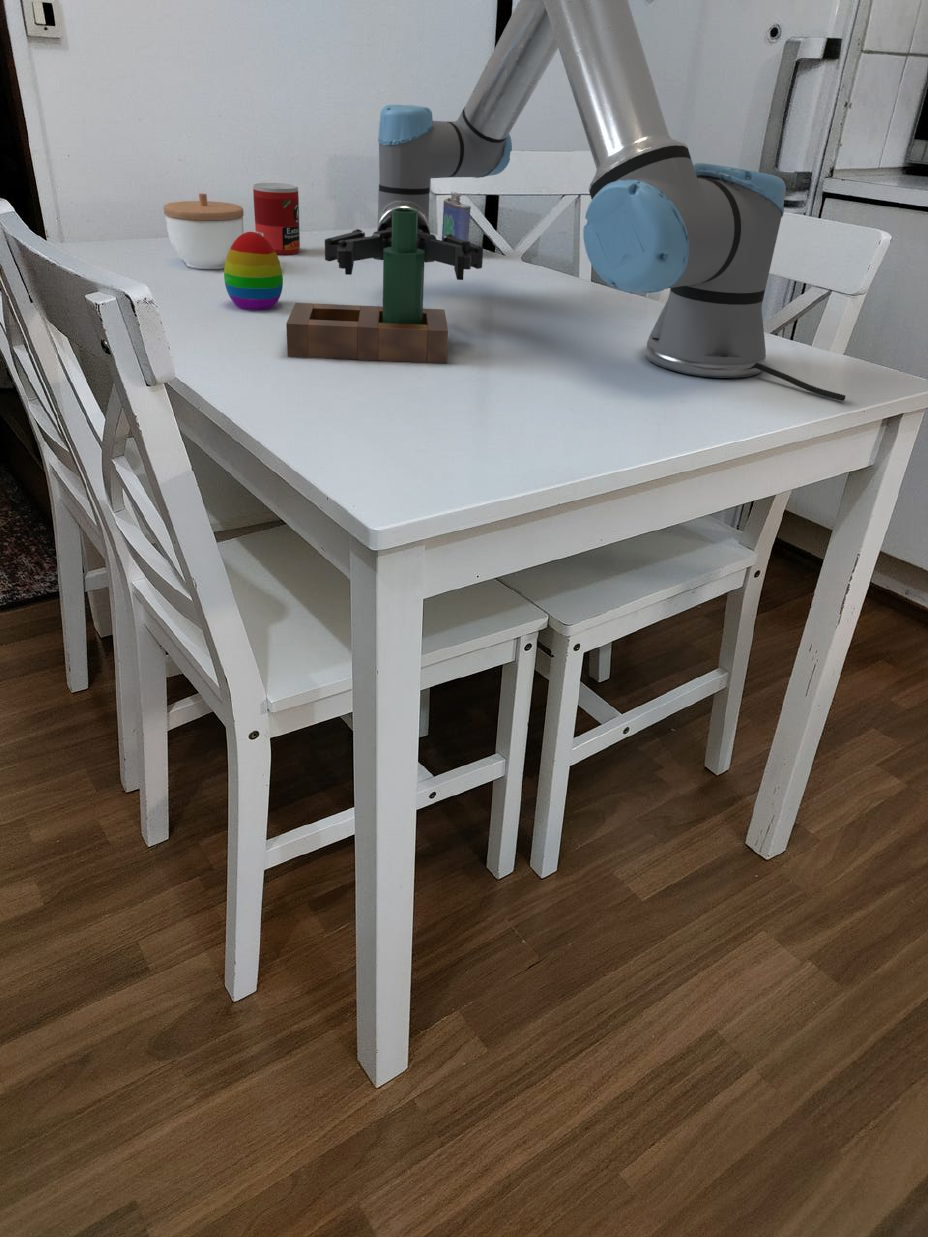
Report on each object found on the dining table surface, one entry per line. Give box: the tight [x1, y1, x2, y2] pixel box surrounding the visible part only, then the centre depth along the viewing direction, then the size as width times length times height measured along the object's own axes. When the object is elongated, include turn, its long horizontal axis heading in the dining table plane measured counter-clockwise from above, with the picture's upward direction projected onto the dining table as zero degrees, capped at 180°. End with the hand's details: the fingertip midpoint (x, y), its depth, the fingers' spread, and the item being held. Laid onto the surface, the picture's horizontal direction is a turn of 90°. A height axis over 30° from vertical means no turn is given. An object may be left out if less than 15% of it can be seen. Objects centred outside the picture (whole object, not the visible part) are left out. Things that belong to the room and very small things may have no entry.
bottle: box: [382, 209, 425, 325], centre depth 115 cm, size 5×5×16 cm
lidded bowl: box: [163, 192, 245, 270], centre depth 154 cm, size 13×13×11 cm
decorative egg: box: [223, 231, 284, 311], centre depth 132 cm, size 8×8×10 cm
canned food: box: [252, 182, 301, 256], centre depth 168 cm, size 8×8×11 cm
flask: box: [441, 191, 471, 241], centre depth 177 cm, size 9×3×11 cm, turn 25°
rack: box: [285, 302, 449, 364], centre depth 118 cm, size 20×11×4 cm, turn 93°
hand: (404, 265), depth 113 cm, fingers open, 13 cm apart
